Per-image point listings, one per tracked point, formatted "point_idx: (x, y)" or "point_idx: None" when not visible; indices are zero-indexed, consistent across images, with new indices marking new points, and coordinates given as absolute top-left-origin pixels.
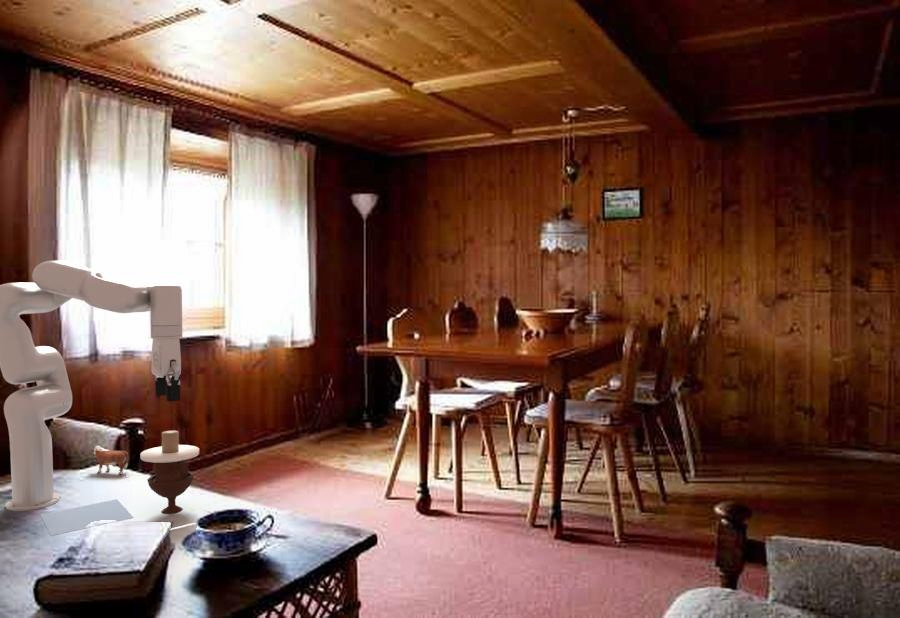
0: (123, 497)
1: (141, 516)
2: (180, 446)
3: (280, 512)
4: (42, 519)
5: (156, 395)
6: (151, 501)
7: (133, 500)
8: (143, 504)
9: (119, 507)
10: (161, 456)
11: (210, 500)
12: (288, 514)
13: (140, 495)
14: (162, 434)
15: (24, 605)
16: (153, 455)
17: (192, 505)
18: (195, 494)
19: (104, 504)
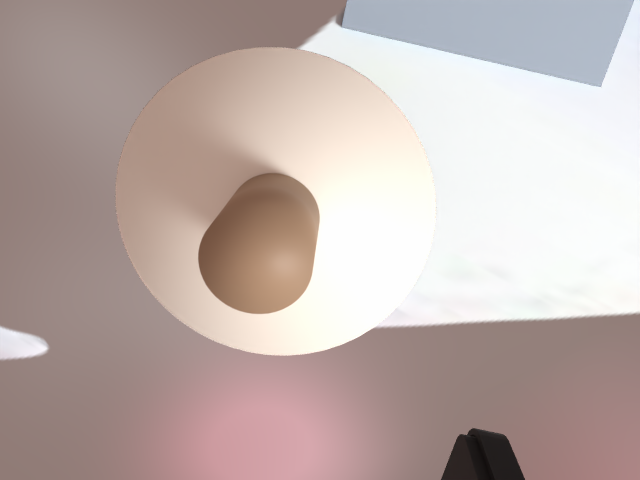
0: (615, 124)
1: (350, 63)
2: (341, 309)
3: (40, 352)
4: None
5: (476, 432)
6: (473, 167)
7: (545, 131)
8: (468, 132)
9: (497, 46)
10: (199, 127)
11: None
12: (9, 355)
13: (575, 176)
14: (256, 205)
15: None
16: (255, 106)
17: None
18: (407, 297)
19: (586, 23)
